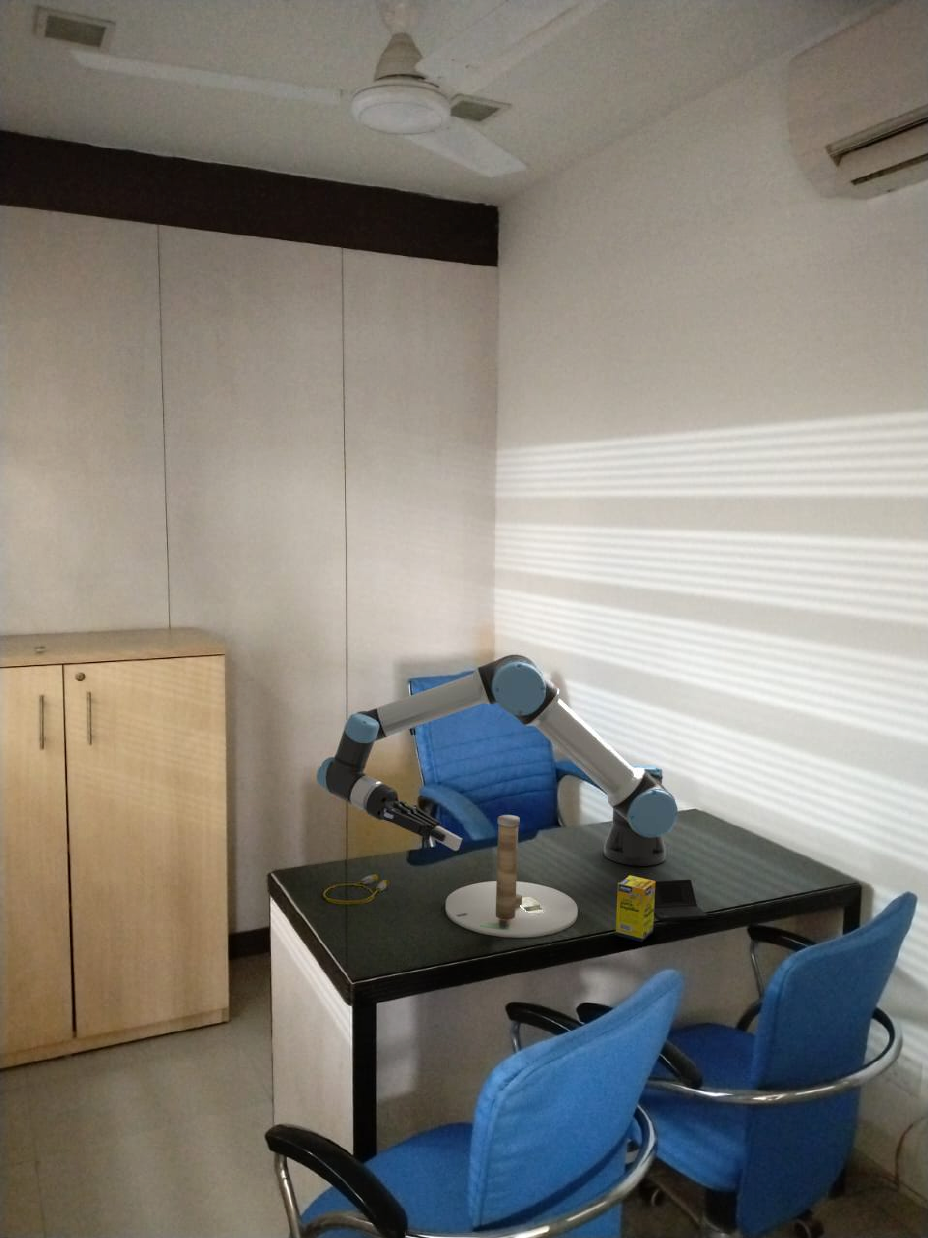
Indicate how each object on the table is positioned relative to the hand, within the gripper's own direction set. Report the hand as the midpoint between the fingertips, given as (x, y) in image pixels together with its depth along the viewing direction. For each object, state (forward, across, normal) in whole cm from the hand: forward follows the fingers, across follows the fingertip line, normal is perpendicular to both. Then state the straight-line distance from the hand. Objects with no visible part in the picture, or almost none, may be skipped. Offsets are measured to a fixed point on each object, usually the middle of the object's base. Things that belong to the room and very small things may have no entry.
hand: (458, 844), depth 217 cm
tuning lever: (+17, +2, -7) cm, 18 cm away
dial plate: (+15, -3, -8) cm, 18 cm away
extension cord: (-16, +6, -19) cm, 26 cm away
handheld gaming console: (+43, -22, +3) cm, 49 cm away
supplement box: (+41, -6, -1) cm, 41 cm away
